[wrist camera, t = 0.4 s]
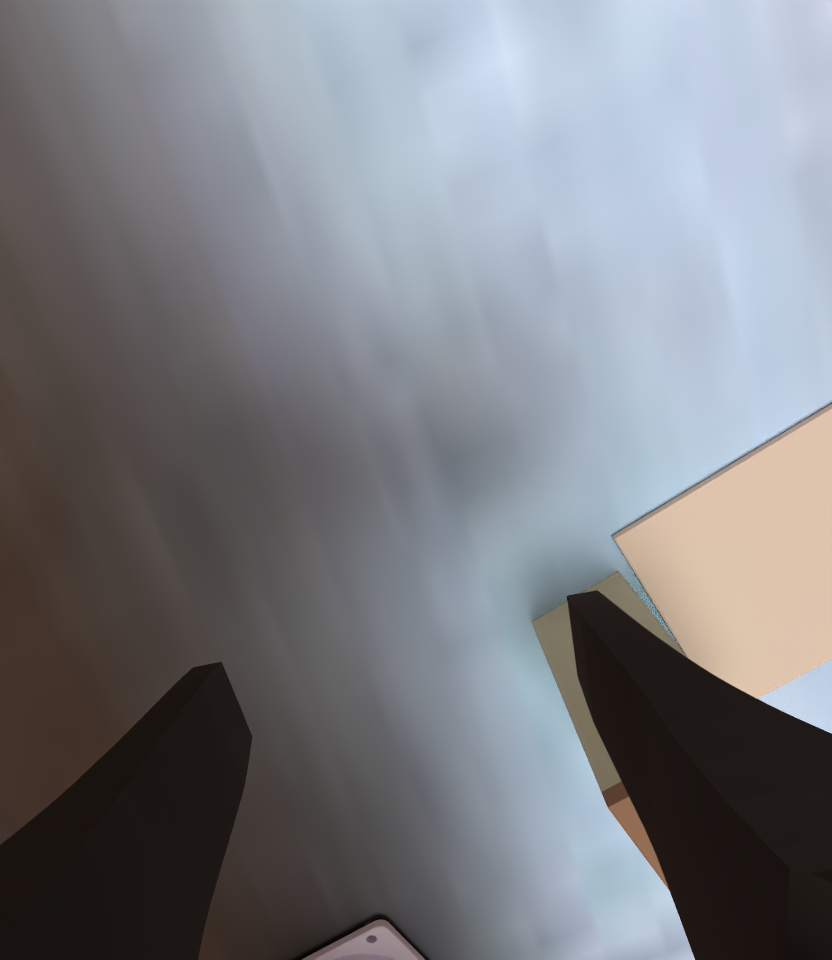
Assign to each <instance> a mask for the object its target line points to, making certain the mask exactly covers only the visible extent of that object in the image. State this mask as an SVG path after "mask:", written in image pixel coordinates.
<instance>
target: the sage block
mask: <svg viewBox="0 0 832 960" xmlns="http://www.w3.org/2000/svg"><path fill="white" fill-rule="evenodd" d="M595 590H598V591H599V592H601V593H602V594H603V595H605V596H606V597H607V598H608V599H610V600H611V601H612V602H613V603H614V604H616V605H617V606H618V607H619V608H621V609H622V610H623V611H624V612H626V613H627V614H628V615H629V616H631V617H632V618H633V619H635V620H636V621H637V622H638V623H640V624H641V625H642V626H644V627H645V628H646V629H648V630H649V631H650V632H652V633H653V634H654V635H656V636H657V637H658V638H660V639H661V640H663V641H664V642H665V643H667V644H668V645H670V646H671V647H672V648H674V649H675V650H677V651H678V652H680V653H681V654H683V655H684V656H686V655H685V654H684V653H683V651H682V650H681V649H680V648H679V646H678V645H677V644H676V643H675V641H674V640H673V639H672V638H671V636H670V635H669V634H668V633H667V631H666V630H665V629H664V628H663V626H662V625H661V624H660V623H659V621H658V620H657V619H656V618H655V616H654V615H653V614H652V613H651V611H650V610H649V609H648V608H647V606H646V605H645V604H644V603H643V601H642V600H641V599H640V598H639V596H638V595H637V594H636V593H635V591H634V590H633V589H632V588H631V586H630V585H629V584H628V583H627V581H626V580H625V579H624V578H623V576H622V575H621V574H620V573H619V571H617V572H616V573H614V574H612V575H611V576H609V577H607V578H606V579H604V580H602V581H600V582H599V583H597V584H595V585H594V586H592V587H590V588H589V589H587V590H585V591H584V592H582V593H585V592H590V591H595ZM532 625H533V627H534V630H535V632H536V634H537V637H538V639H539V642H540V644H541V647H542V649H543V651H544V654H545V656H546V659H547V661H548V664H549V666H550V668H551V671H552V673H553V676H554V678H555V681H556V683H557V685H558V688H559V690H560V693H561V695H562V698H563V700H564V702H565V705H566V707H567V710H568V712H569V715H570V717H571V719H572V722H573V724H574V727H575V729H576V732H577V734H578V736H579V739H580V741H581V744H582V746H583V749H584V751H585V753H586V756H587V758H588V761H589V763H590V766H591V768H592V770H593V773H594V775H595V778H596V780H597V783H598V785H599V787H600V790H601V792H602V795H603V797H604V800H605V802H606V804H607V807H608V809H609V810H610V811H611V813H612V814H613V815H614V817H615V818H616V819H617V821H618V822H619V823H620V825H621V826H622V827H623V829H624V830H625V831H626V833H627V834H628V835H629V837H630V838H631V839H632V841H633V842H634V843H635V845H636V846H637V847H638V849H639V850H640V852H641V853H642V854H643V856H644V857H645V858H646V860H647V861H648V862H649V864H650V865H651V866H652V868H653V869H654V870H655V872H656V873H657V874H658V876H659V877H660V878H661V880H662V881H663V882H664V884H665V885H666V886H667V888H668V885H667V882H666V880H665V877H664V874H663V872H662V869H661V866H660V864H659V861H658V859H657V856H656V854H655V851H654V849H653V847H652V844H651V842H650V840H649V838H648V835H647V833H646V831H645V828H644V826H643V824H642V822H641V820H640V818H639V816H638V814H637V812H636V810H635V808H634V806H633V804H632V802H631V800H630V798H629V795H628V793H627V791H626V789H625V787H624V785H623V783H622V781H621V779H620V777H619V775H618V773H617V771H616V769H615V767H614V765H613V762H612V760H611V758H610V756H609V754H608V752H607V750H606V748H605V746H604V744H603V742H602V740H601V737H600V735H599V733H598V731H597V729H596V727H595V725H594V723H593V720H592V717H591V714H590V711H589V709H588V706H587V703H586V700H585V697H584V694H583V691H582V688H581V685H580V683H579V680H578V677H577V669H576V662H575V654H574V647H573V639H572V632H571V624H570V617H569V609H568V601H567V602H565V603H563V604H562V605H560V606H558V607H556V608H555V609H553V610H551V611H550V612H548V613H546V614H545V615H543V616H541V617H540V618H538V619H536V620H535V621H533V622H532ZM686 657H687V656H686ZM668 889H669V888H668ZM669 891H670V890H669Z"/></svg>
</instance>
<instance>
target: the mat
mask: <svg viewBox="0 0 832 960" xmlns="http://www.w3.org/2000/svg"><path fill="white" fill-rule="evenodd" d="M612 537H613V539H614V540H615V542H616V544H617V545H618V547H619V548H620V550H621V552H622V553H623V555H624V557H625V558H626V560H627V561H628V563H629V565H630V566H631V568H632V569H633V571H634V573H635V574H636V576H637V577H638V579H639V581H640V582H641V584H642V586H643V587H644V589H645V590H646V592H647V594H648V595H649V597H650V598H651V600H652V602H653V603H654V605H655V607H656V608H657V610H658V611H659V613H660V615H661V616H662V618H663V619H664V621H665V623H666V624H667V626H668V627H669V629H670V631H671V632H672V634H673V636H674V637H675V639H676V640H677V642H678V644H679V645H680V647H681V648H682V650H683V652H684V653H685V655H686V656H687V658H688V659H690V660H691V661H693V662H695V663H696V664H698V665H699V666H701V667H702V668H704V669H706V670H707V671H709V672H710V673H712V674H713V675H715V676H717V677H718V678H720V679H722V680H724V681H725V682H727V683H729V684H731V685H732V686H734V687H736V688H738V689H740V690H742V691H744V692H745V693H747V694H749V695H751V696H753V697H755V698H757V699H758V698H760V697H761V696H763V695H765V694H767V693H769V692H771V691H773V690H775V689H776V688H778V687H780V686H782V685H784V684H786V683H788V682H790V681H791V680H793V679H795V678H797V677H799V676H801V675H803V674H804V673H806V672H808V671H810V670H812V669H814V668H816V667H818V666H819V665H821V664H823V663H825V662H827V661H829V660H831V659H832V404H830V405H829V406H827V407H825V408H824V409H822V410H820V411H819V412H817V413H815V414H814V415H812V416H810V417H809V418H807V419H805V420H804V421H802V422H800V423H799V424H797V425H795V426H794V427H792V428H790V429H789V430H787V431H785V432H784V433H782V434H780V435H779V436H777V437H776V438H774V439H772V440H771V441H769V442H767V443H766V444H764V445H762V446H761V447H759V448H757V449H756V450H754V451H752V452H751V453H749V454H747V455H746V456H744V457H742V458H741V459H739V460H737V461H736V462H734V463H732V464H731V465H729V466H727V467H726V468H724V469H722V470H721V471H719V472H717V473H716V474H714V475H712V476H711V477H709V478H707V479H706V480H704V481H702V482H701V483H699V484H697V485H696V486H694V487H692V488H691V489H689V490H688V491H686V492H684V493H683V494H681V495H679V496H678V497H676V498H674V499H673V500H671V501H669V502H668V503H666V504H664V505H663V506H661V507H659V508H658V509H656V510H654V511H653V512H651V513H649V514H648V515H646V516H644V517H643V518H641V519H639V520H638V521H636V522H634V523H633V524H631V525H629V526H628V527H626V528H624V529H623V530H621V531H619V532H618V533H616V534H614V535H613V536H612Z"/></svg>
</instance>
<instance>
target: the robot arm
mask: <svg viewBox="0 0 832 960" xmlns="http://www.w3.org/2000/svg"><path fill="white" fill-rule="evenodd" d="M567 601H568V609H569V617H570V624H571V632H572V639H573V647H574V654H575V662H576V669H577V677H578V680H579V683H580V685H581V688H582V691H583V694H584V697H585V700H586V703H587V706H588V709H589V711H590V714H591V717H592V720H593V723H594V725H595V727H596V729H597V731H598V733H599V735H600V737H601V740H602V742H603V744H604V746H605V748H606V750H607V752H608V754H609V756H610V758H611V760H612V762H613V765H614V767H615V769H616V771H617V773H618V775H619V777H620V779H621V781H622V783H623V785H624V787H625V789H626V791H627V793H628V795H629V798H630V800H631V802H632V804H633V806H634V808H635V810H636V812H637V814H638V816H639V818H640V820H641V822H642V824H643V826H644V828H645V831H646V833H647V835H648V838H649V840H650V842H651V844H652V847H653V849H654V851H655V854H656V856H657V859H658V861H659V864H660V866H661V869H662V872H663V874H664V877H665V880H666V882H667V885H668V888H669V890H670V893H671V895H672V898H673V901H674V903H675V906H676V909H677V911H678V914H679V917H680V919H681V922H682V925H683V928H684V930H685V933H686V936H687V938H688V941H689V944H690V947H691V949H692V952H693V955H694V957H695V960H832V734H831V733H829V732H826V731H824V730H822V729H820V728H818V727H815V726H813V725H811V724H809V723H806V722H804V721H802V720H800V719H797V718H795V717H793V716H791V715H789V714H787V713H784V712H782V711H780V710H778V709H776V708H774V707H772V706H770V705H768V704H766V703H764V702H762V701H760V700H759V699H757V698H755V697H753V696H751V695H749V694H747V693H745V692H744V691H742V690H740V689H738V688H736V687H734V686H732V685H731V684H729V683H727V682H725V681H724V680H722V679H720V678H718V677H717V676H715V675H713V674H712V673H710V672H709V671H707V670H706V669H704V668H702V667H701V666H699V665H698V664H696V663H695V662H693V661H691V660H690V659H688V658H687V657H686V656H684V655H683V654H681V653H680V652H678V651H677V650H675V649H674V648H672V647H671V646H670V645H668V644H667V643H665V642H664V641H663V640H661V639H660V638H658V637H657V636H656V635H654V634H653V633H652V632H650V631H649V630H648V629H646V628H645V627H644V626H642V625H641V624H640V623H638V622H637V621H636V620H635V619H633V618H632V617H631V616H629V615H628V614H627V613H626V612H624V611H623V610H622V609H621V608H619V607H618V606H617V605H616V604H614V603H613V602H612V601H611V600H610V599H608V598H607V597H606V596H605V595H603V594H602V593H601V592H599V591H598V590H595V591H590V592H585V593H579V594H574V595H569V596H567ZM251 741H252V735H251V732H250V730H249V727H248V725H247V722H246V720H245V718H244V715H243V713H242V710H241V708H240V705H239V703H238V701H237V698H236V696H235V693H234V691H233V688H232V686H231V683H230V681H229V679H228V676H227V674H226V671H225V669H224V666H223V664H222V662H219V663H213V664H208V665H203V666H198V667H193V668H192V669H191V670H190V671H189V672H188V673H187V674H185V675H184V676H183V677H182V678H181V679H180V680H179V681H178V682H177V683H176V684H175V685H174V686H173V687H172V688H171V689H170V690H169V691H168V692H167V693H166V694H165V695H164V696H163V697H162V698H161V699H160V700H159V701H158V702H157V703H156V704H155V705H154V706H153V707H152V708H151V709H150V710H149V711H148V712H147V713H146V714H145V715H144V716H143V717H142V718H141V719H140V720H139V721H138V722H137V723H136V724H135V725H134V726H133V727H132V728H131V729H130V730H129V731H128V732H127V733H126V734H125V735H124V736H123V737H122V738H121V739H120V740H119V741H118V742H117V743H116V744H115V745H114V746H113V747H112V748H111V749H110V750H109V751H108V752H107V753H106V754H105V755H104V756H103V757H101V758H100V759H99V760H98V761H97V762H96V763H95V764H94V765H93V766H92V767H91V768H90V769H89V770H88V771H87V772H86V773H84V774H83V775H82V776H81V777H80V778H79V779H78V780H77V781H76V782H75V783H74V784H73V785H72V786H71V787H70V788H68V789H67V790H66V791H65V792H64V793H63V794H62V795H60V796H59V797H58V798H57V799H56V800H55V801H54V802H52V803H51V804H50V805H49V806H48V807H47V808H45V809H44V810H43V811H42V812H41V813H39V814H38V815H37V816H36V817H35V818H33V819H32V820H31V821H30V822H28V823H27V824H26V825H25V826H24V827H22V828H21V829H20V830H19V831H17V832H16V833H15V834H14V835H12V836H11V837H10V838H9V839H7V840H6V841H5V842H4V843H2V844H1V845H0V960H198V956H199V951H200V945H201V940H202V935H203V931H204V927H205V923H206V919H207V915H208V911H209V907H210V903H211V900H212V896H213V893H214V889H215V886H216V883H217V879H218V876H219V872H220V869H221V866H222V862H223V859H224V855H225V852H226V849H227V845H228V842H229V839H230V835H231V832H232V828H233V825H234V821H235V818H236V814H237V811H238V807H239V804H240V800H241V797H242V793H243V789H244V786H245V780H246V774H247V769H248V763H249V756H250V748H251ZM302 960H425V959H424V958H423V957H422V956H421V955H420V954H419V953H418V952H417V951H416V950H415V949H414V948H413V947H412V946H411V945H410V944H409V943H408V942H407V941H406V940H405V939H404V938H403V937H402V936H401V935H400V934H399V933H398V932H397V931H396V930H395V928H394V927H393V926H392V925H391V924H390V923H389V922H387V921H386V920H382V919H381V920H376V921H374V922H372V923H370V924H368V925H366V926H364V927H362V928H360V929H358V930H357V931H355V932H353V933H351V934H349V935H347V936H345V937H343V938H341V939H340V940H338V941H336V942H334V943H332V944H330V945H328V946H326V947H324V948H322V949H321V950H319V951H317V952H315V953H313V954H311V955H309V956H307V957H305V958H304V959H302Z"/></svg>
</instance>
